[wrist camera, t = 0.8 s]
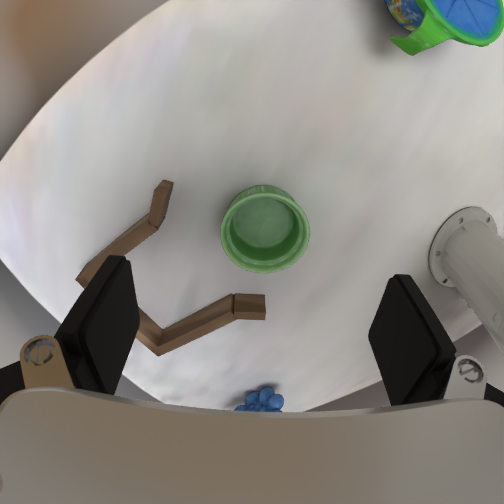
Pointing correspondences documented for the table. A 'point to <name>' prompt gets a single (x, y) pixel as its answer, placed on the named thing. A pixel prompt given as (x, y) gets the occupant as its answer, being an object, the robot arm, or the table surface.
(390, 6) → the snack cup
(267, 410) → the grapes
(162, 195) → the walnut holder
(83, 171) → the table surface
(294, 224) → the ramekin
